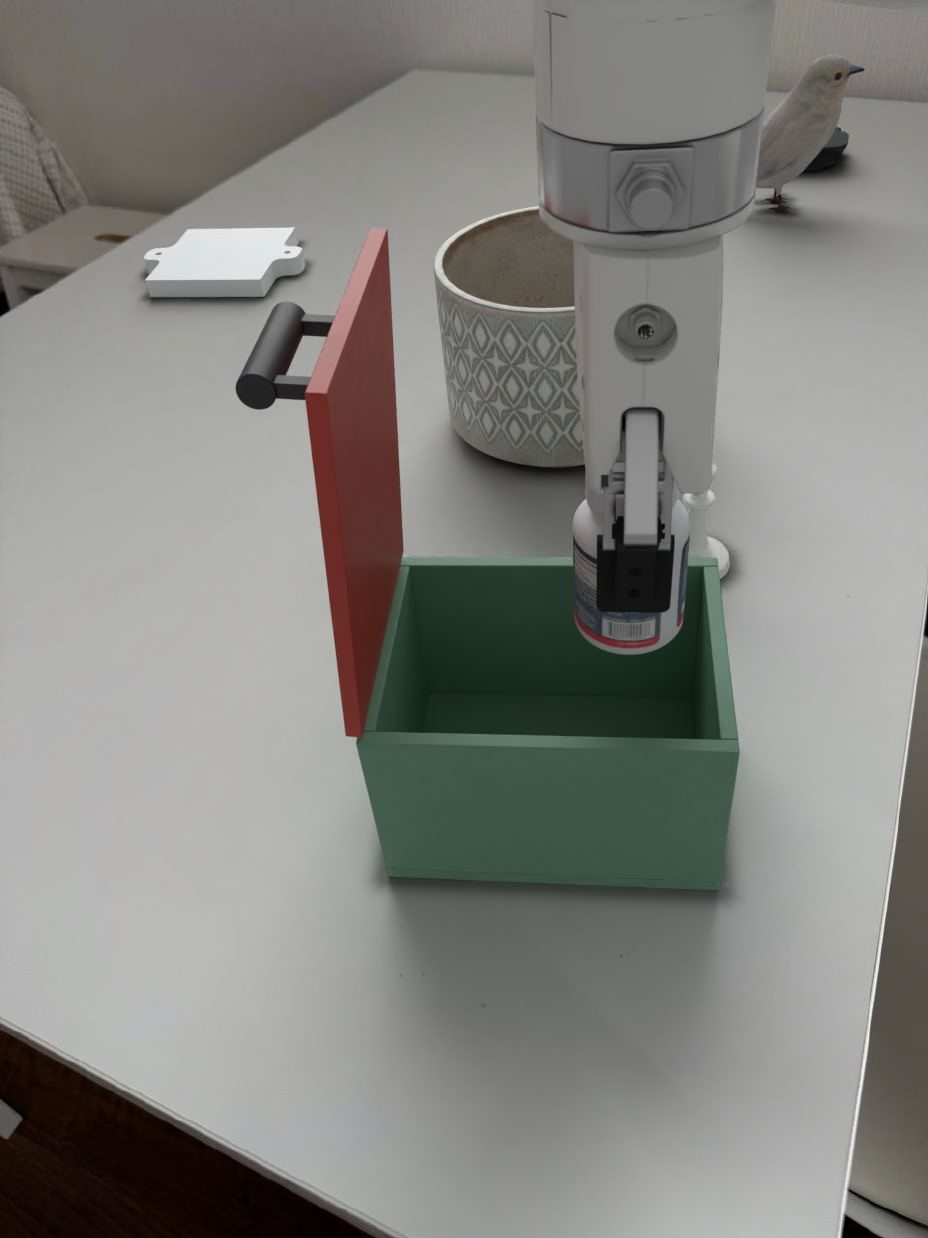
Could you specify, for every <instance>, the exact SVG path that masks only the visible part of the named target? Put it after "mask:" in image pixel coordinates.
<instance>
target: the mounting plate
mask: <svg viewBox="0 0 928 1238" xmlns="http://www.w3.org/2000/svg"><path fill="white" fill-rule="evenodd" d="M296 230H297V229H296V226H295V227H242V228H241V227H237V228H230V227H229V228H188V229H186V231H185V232H184V233H183V234H182V235H181V237H179V239H178V240H177V241H176V243H174V244H173V245H171V246H168V247H156V248H152V249H150V250H148V251H147V252H146V253H145V254H144V256H143V259H144V263H145V266H146V269H147V273H148V275H147V277H146V278H145V279H144V281H145V285H146V288H147V292H148V295H149V298H261V297H262V298H265V296H266V295H267V293H268V292H269V290H270V289H271V288H272V286H273V284H274V282H275V281H276V279H278V278H280V277H284V276H297V275H300V274H301V273H303V272H304V270H305V268H306V261H305V256H304V251H303V247H301V246H298V245H299V240H298V236H297V231H296Z"/></svg>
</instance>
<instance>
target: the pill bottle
mask: <svg viewBox="0 0 928 1238" xmlns="http://www.w3.org/2000/svg"><path fill="white" fill-rule="evenodd" d="M613 472H624V463H615V464H614V466H613ZM658 472H663V462H658ZM673 482H674V488H673V499H672V523H671V535H674V537H675V547H674V561H673V575H672V588H671V602H670V608H669V610H667V611H666V612H662V613H639V612H602V611H600V610H598V608H597V606H596V598H597V535H603V490H601V495H599V494H597V493H596V492H594V491H593V490H592V489H591V488H590V487H589V486H588V485H587V478H586V477H585V489H584V496H585V499H584V500H583V501H582V502H581V503H580V504H579V505H578V507H577V509H576V511H575V514H574V515H573V520H572V557H573V577H574V616H575V622H576V625H577V628H578V630H579V631H580V633H581V634H582V635H583V637H584V638H585V639H586V640H587V641H589V642H590V643H591V644H593V645H594V646H596V647H598V648H600V649H602V650H605V651H608V652H611V653H616V654H623V655H636V654H643V653H648V652H651V651H654V650H657V649H659V648H661V647H663V646H664V645H666V644H667V643H669V642H670V641H671V640H672V639H673V638H674V637H675V636H676V635H677V633H678V632H679V630H680V628H681V626H682V623H683V617H684V607H685V595H686V581H687V568H688V553H689V541H690V521H689V513H688V511H687V509H686V507H685V504H684V503H682V501H681V500H680V499H679V498H678V497H679V489H678V487H677V485H676V482H675V480H674V478H673ZM623 515H624V494H616V520H617V516H623Z"/></svg>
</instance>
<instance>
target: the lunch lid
mask: <svg viewBox="0 0 928 1238" xmlns="http://www.w3.org/2000/svg"><path fill="white" fill-rule="evenodd" d="M389 249H390V248H389V231H388V228H379V227H377V228H376V227H370V228H369V230H368V233H367V235H366V237H365V240H364V242H363V244H362V247H361V250H360V252H359V255H358V258H357V259H356V263H355V265H354V267H353V270H352V272H351V275H350V278H349V279H348V283H347V285H346V288H345V290H344V292H343V295H342V298H341V300H340V303H339V305H338V308H337V311H336V313H335V314H334V315H331V314H330V315H328V314H313V313H312V314H311V313H306V312H305V310H304V309H303V308H302V306H300V305H299V304H297V303H295V302H293V301H282V302H279V303H277V304H276V305H274V306H273V308H272V309H271V312H270V313H269V315H268V317H267V319H266V321H265V324H264V326H263V327H262V330H261V332H260V333H259V335H258V338H257V340H256V342H255V344H254V346H253V348H252V350H251V352H250V354H249V356H248V358H247V360H246V362H245V364H244V366H243V368H242V370H241V373H240V374H239V377H238V378H237V380H236V382H235V394H236V396H237V399H239V401H240V402H241V403H242V404H243V405H245V406H246V407H248V408H250V409H252V410H257V411H258V410H259V411H261V410H262V411H263V410H266V409H268V408H270V407H271V406H273V405H274V404H275V402H276V399H277V400H291V401H292V400H295V401H305V409H306V416H307V426H308V434H309V442H310V443H309V444H310V451H311V458H312V459H311V460H312V468H313V474H314V484H315V485H314V486H315V493H316V502H317V509H318V518H319V525H320V535H321V542H322V551H323V559H324V568H325V576H326V577H325V578H326V584H327V593H328V602H329V608H330V610H329V611H330V619H331V626H332V634H333V642H334V650H335V652H334V653H335V660H336V667H337V676H338V684H339V692H340V701H341V709H342V718H343V725H344V733H345V737H347V738H349V737H350V738H357V737H362V736H363V731H364V727H365V722H366V718H367V713H368V709H369V704H370V700H371V695H372V691H373V686H374V682H375V677H376V673H377V668H378V664H379V659H380V655H381V650H382V646H383V641H384V637H385V632H386V628H387V623H388V619H389V614H390V610H391V605H392V601H393V596H394V592H395V587H396V583H397V578H398V574H399V569H400V565H401V560H402V557H404V556H403V555H404V551H405V549H404V548H405V547H404V531H403V511H402V489H401V488H402V487H401V472H400V470H401V469H400V451H399V450H400V449H399V432H398V430H399V429H398V409H397V390H396V389H397V388H396V370H395V353H394V352H395V350H394V330H393V329H394V328H393V311H392V310H393V307H392V290H391V270H390V251H389ZM303 337H320V338H321V337H322V338H325V340H324V343H323V345H322V349H321V350H320V353H319V356H318V358H317V360H316V363H315V366H314V368H313V371H312V374H311V375H310V376H306V375H305V376H303V375H287V374H288V371H289V369H290V368H291V365H292V362H293V360H294V358H295V355H296V354H297V351H298V349H299V346H300V344H301V342H302V339H303Z"/></svg>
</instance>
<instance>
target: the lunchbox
mask: <svg viewBox="0 0 928 1238" xmlns="http://www.w3.org/2000/svg"><path fill="white" fill-rule="evenodd" d="M724 612H725V611H724V603H723V595H722V585H721V579H720V577H719V568H718V560H717V558H716V557H688V568H687V581H686V595H685V607H684V617H683V623H682V626H681V628H680V630H679V632H678V633H677V635H676V636H675V637H674V638H673V639H672V640H671V641H670V642H669V643H667V644H666V645H664V646H663V647H661V648H659V649H657V650H654V651H651V652H648V653H643V654H636V655H623V654H616V653H611V652H608V651H605V650H602V649H600V648H598V647H596V646H594V645H593V644H591V643H590V642H589V641H587V640H586V639H585V638H584V637H583V635H582V634H581V633H580V631H579V630H578V628H577V625H576V622H575V616H574V577H573V556H570V557H567V556H565V557H563V556H559V557H558V556H555V557H554V556H546V557H545V556H542V557H541V556H537V557H534V556H531V557H530V556H525V557H524V556H520V557H519V556H517V557H516V556H514V557H512V556H508V557H507V556H500V557H499V556H498V557H497V556H496V557H495V556H492V557H491V556H470V557H469V556H465V557H464V556H461V557H460V556H453V557H452V556H402V560H401V565H400V569H399V574H398V578H397V583H396V587H395V592H394V596H393V601H392V605H391V610H390V614H389V619H388V623H387V628H386V632H385V637H384V641H383V646H382V650H381V655H380V659H379V664H378V668H377V673H376V677H375V682H374V686H373V691H372V695H371V700H370V704H369V709H368V713H367V718H366V722H365V727H364V731H363V736H362V737H356V740H355V745H356V749H357V754H358V757H359V762H360V766H361V770H362V775H363V779H364V784H365V787H366V791H367V795H368V799H369V803H370V807H371V812H372V815H373V819H374V823H375V828H376V831H377V836H378V840H379V845H380V848H381V852H382V857H383V861H384V865H385V869H386V874H387V877H388V878H410V879H434V880H458V881H478V882H479V881H481V882H482V881H484V882H504V883H505V882H506V883H529V884H530V883H531V884H550V885H551V884H553V885H575V886H577V885H578V886H599V887H600V886H601V887H602V886H604V887H626V888H649V889H670V890H671V889H672V890H695V891H697V890H698V891H699V890H700V891H720V887H721V879H722V871H723V865H724V858H725V851H726V846H727V838H728V832H729V826H730V818H731V813H732V806H733V799H734V793H735V787H736V781H737V774H738V768H739V767H738V766H739V761H740V755H741V752H740V744H739V734H738V725H737V717H736V708H735V699H734V690H733V682H732V673H731V664H730V656H729V648H728V639H727V630H726V629H727V628H726V621H725V613H724Z"/></svg>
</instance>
